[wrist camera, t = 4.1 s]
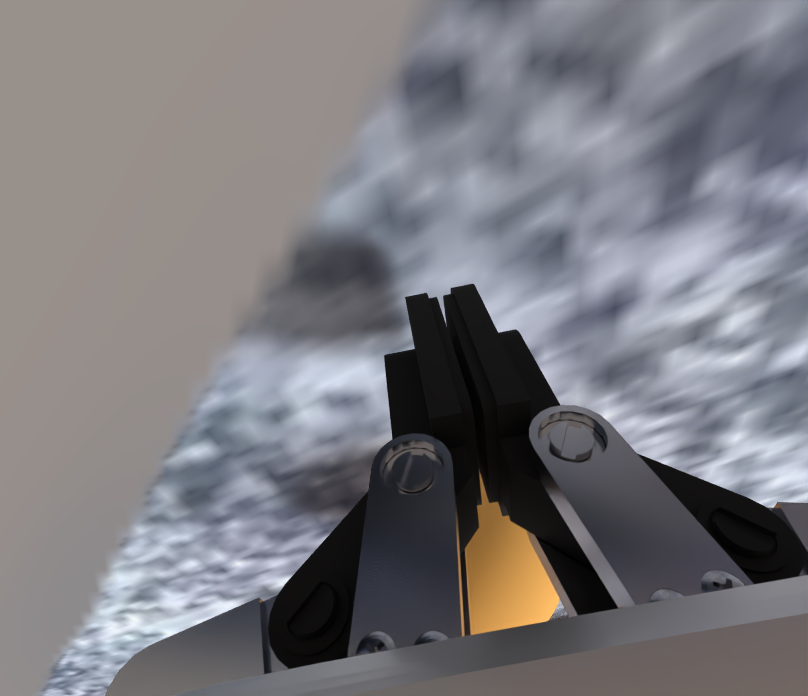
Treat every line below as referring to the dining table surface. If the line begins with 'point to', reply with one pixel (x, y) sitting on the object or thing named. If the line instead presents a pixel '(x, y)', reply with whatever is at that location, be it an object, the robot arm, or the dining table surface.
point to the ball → (505, 574)
